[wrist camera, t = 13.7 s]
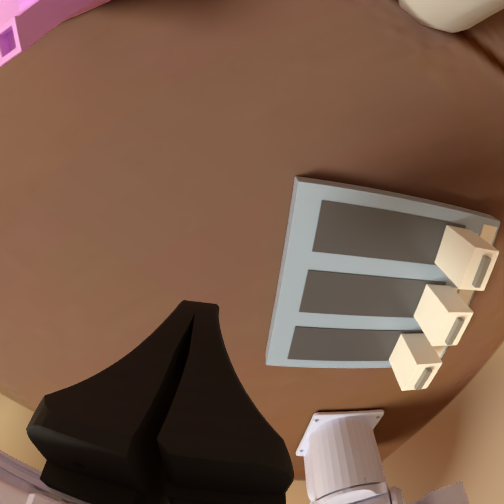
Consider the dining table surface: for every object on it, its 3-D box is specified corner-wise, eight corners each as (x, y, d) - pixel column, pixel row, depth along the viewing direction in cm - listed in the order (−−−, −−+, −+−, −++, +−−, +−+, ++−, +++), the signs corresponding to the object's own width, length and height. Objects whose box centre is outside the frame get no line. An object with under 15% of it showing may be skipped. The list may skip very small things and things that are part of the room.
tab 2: (458, 265, 19) (486, 293, 15) (434, 262, 19) (461, 292, 15) (470, 229, 18) (502, 254, 14) (446, 224, 18) (478, 250, 14)
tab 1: (412, 358, 23) (428, 391, 19) (388, 359, 23) (403, 394, 19) (425, 333, 22) (444, 366, 18) (400, 333, 22) (419, 368, 18)
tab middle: (437, 316, 21) (459, 348, 17) (413, 315, 21) (434, 349, 17) (450, 285, 20) (476, 315, 16) (426, 283, 20) (451, 315, 16)
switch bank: (431, 353, 25) (437, 365, 23) (265, 351, 24) (266, 365, 23) (489, 214, 19) (501, 222, 17) (295, 175, 18) (298, 181, 17)
